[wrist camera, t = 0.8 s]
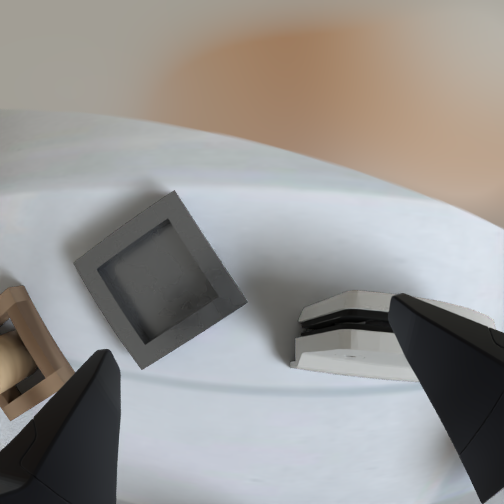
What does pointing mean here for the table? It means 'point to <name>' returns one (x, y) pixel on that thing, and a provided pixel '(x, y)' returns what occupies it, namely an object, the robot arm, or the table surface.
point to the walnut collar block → (32, 352)
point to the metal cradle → (159, 281)
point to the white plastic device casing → (359, 336)
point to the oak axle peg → (14, 360)
